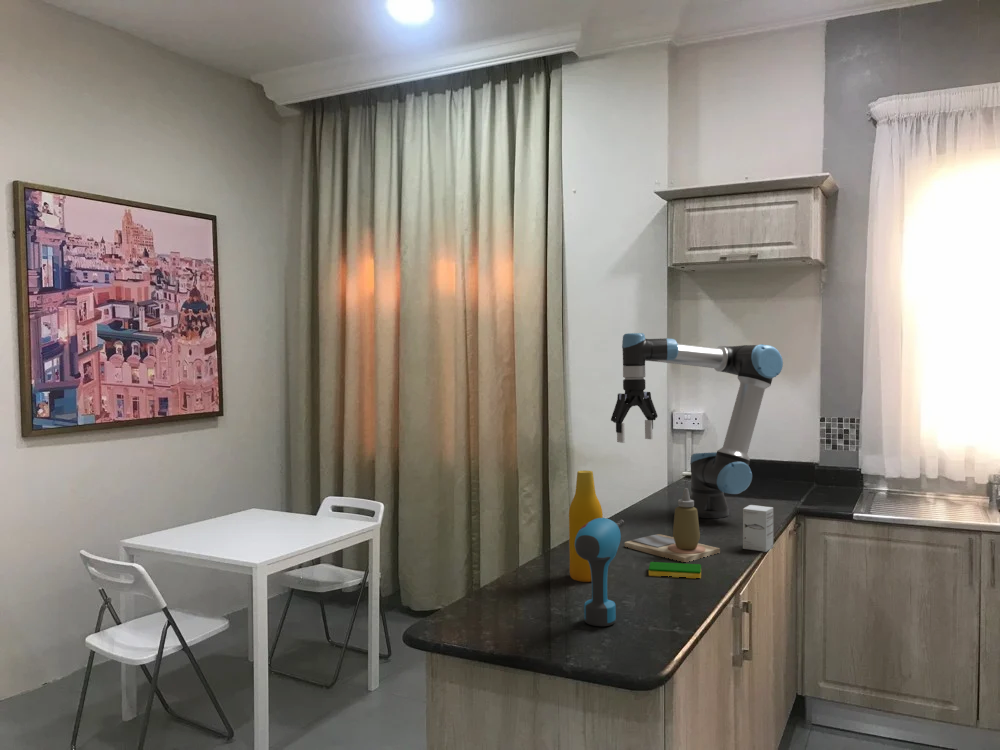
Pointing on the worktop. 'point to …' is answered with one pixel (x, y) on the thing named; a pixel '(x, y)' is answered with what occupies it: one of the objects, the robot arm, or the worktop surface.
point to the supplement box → (758, 528)
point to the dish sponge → (675, 569)
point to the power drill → (599, 566)
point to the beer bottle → (582, 521)
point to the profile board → (670, 548)
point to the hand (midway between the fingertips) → (635, 440)
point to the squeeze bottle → (686, 523)
